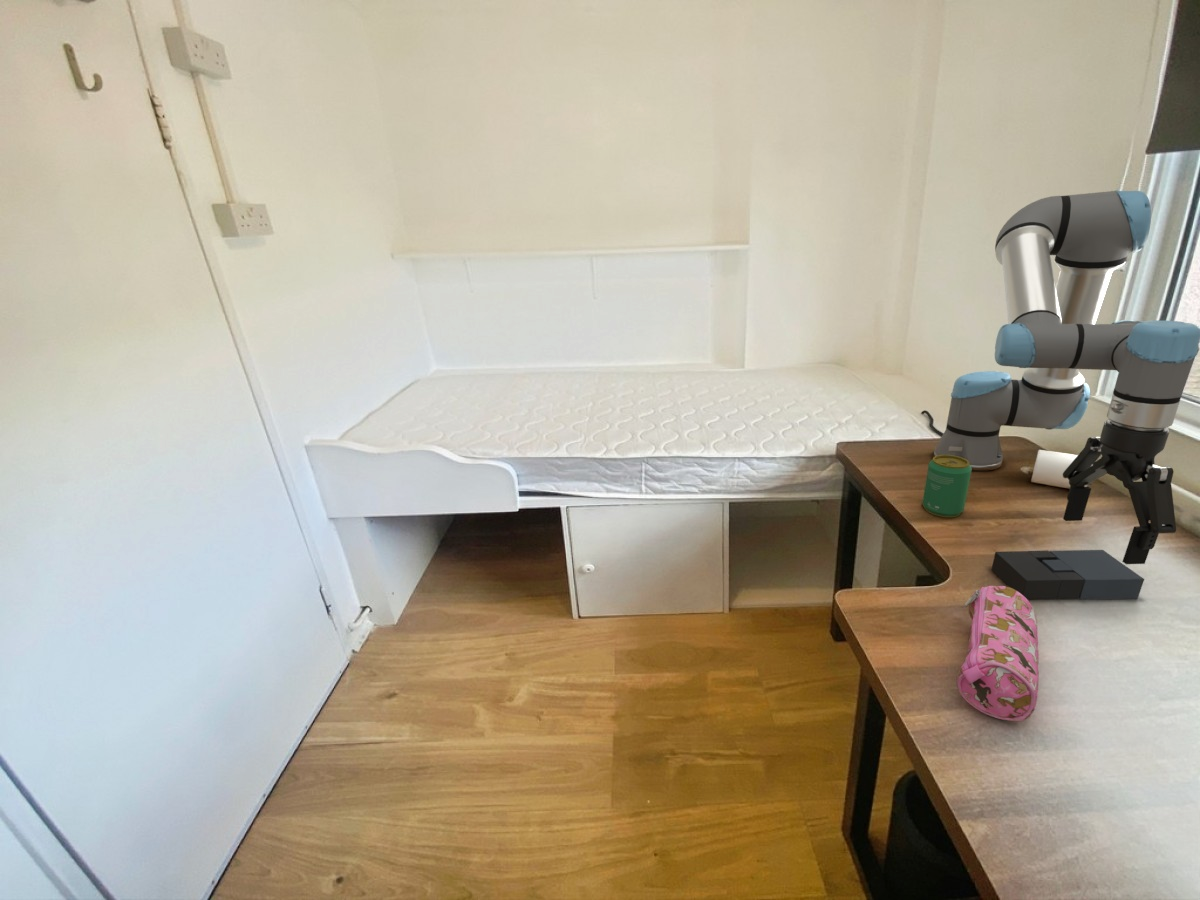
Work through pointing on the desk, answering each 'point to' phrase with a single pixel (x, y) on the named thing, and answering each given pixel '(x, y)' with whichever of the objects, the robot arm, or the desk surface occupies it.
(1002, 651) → the pencil case
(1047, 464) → the white cylinder on side
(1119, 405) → the robot arm
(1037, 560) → the black u-shaped block
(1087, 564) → the grey block
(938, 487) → the beverage can
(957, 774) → the desk surface
